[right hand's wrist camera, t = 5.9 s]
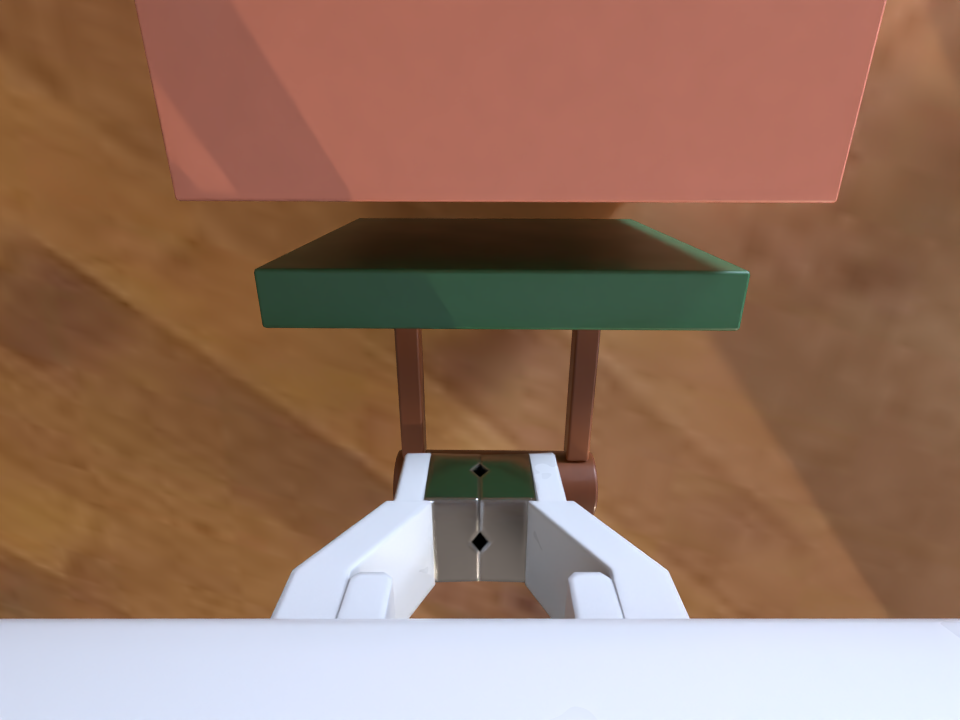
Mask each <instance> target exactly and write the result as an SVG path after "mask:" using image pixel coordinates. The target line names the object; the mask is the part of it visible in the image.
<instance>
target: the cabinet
mask: <svg viewBox="0 0 960 720" xmlns="http://www.w3.org/2000/svg"><path fill="white" fill-rule="evenodd" d="M885 4H886V0H135V5H136V10H137V15H138V20H139V24H140V29H141V34H142V39H143V43H144V48H145V53H146V58H147V63H148V67H149V72H150V77H151V82H152V87H153V91H154V96H155V101H156V106H157V111H158V115H159V120H160V125H161V130H162V135H163V139H164V144H165V149H166V154H167V159H168V163H169V168H170V173H171V178H172V182H173V187H174V192H175V197H176V199H177V200H179V201H400V202H722V203H833V202H836V200H837V197H838V193H839V189H840V185H841V181H842V177H843V173H844V169H845V165H846V161H847V157H848V153H849V149H850V145H851V141H852V137H853V133H854V129H855V125H856V121H857V117H858V113H859V109H860V105H861V101H862V97H863V93H864V89H865V85H866V81H867V77H868V73H869V69H870V65H871V60H872V56H873V52H874V48H875V44H876V40H877V36H878V32H879V28H880V24H881V20H882V16H883V12H884V8H885Z"/></svg>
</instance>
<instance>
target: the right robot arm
mask: <svg viewBox="0 0 960 720" xmlns="http://www.w3.org/2000/svg"><path fill="white" fill-rule="evenodd" d="M461 581H498V582H525V585H526V586H527V588H528V589H529V590H530V591H531V593H532V594H533V595H534V597H535V598H536V599H537V600H538V602H539V603H540V604H541V606H542V607H543V608H544V609H545V611H546V612H547V613H548V615H549V616H550V617H551V618H552V619H409V618H410V616H411V615H412V614H413V612H414V611H415V610H416V609H417V607H418V606H419V605H420V603H421V602H422V601H423V600H424V598H425V597H426V596H427V594H428V593H429V592H430V591H431V589H432V588H433V587H434V585H435V582H461ZM0 720H960V619H690V618H689V616H688V614H687V612H686V609H685V607H684V605H683V603H682V601H681V598H680V596H679V594H678V592H677V589H676V587H675V585H674V583H673V581H672V578H671V576H670V574H669V572H668V570H666V569H665V568H664V567H662V566H661V565H660V564H658V563H657V562H656V561H654V560H653V559H651V558H650V557H649V556H647V555H646V554H645V553H643V552H642V551H641V550H639V549H638V548H637V547H635V546H634V545H633V544H631V543H630V542H628V541H627V540H626V539H624V538H623V537H622V536H620V535H619V534H618V533H616V532H615V531H614V530H612V529H611V528H610V527H608V526H607V525H605V524H604V523H603V522H601V521H600V520H599V519H597V518H596V517H595V516H593V515H592V514H591V513H589V512H588V511H587V510H585V509H584V508H583V507H581V506H580V505H578V504H577V503H576V502H574V501H566V497H565V493H564V489H563V485H562V481H561V477H560V473H559V469H558V465H557V462H556V458H555V455H554V454H553V453H531V454H494V455H480V454H446V453H432V454H431V453H407V454H406V455H405V457H404V461H403V465H402V469H401V473H400V477H399V481H398V485H397V489H396V493H395V497H394V501H386V502H384V503H383V504H382V505H380V506H379V507H377V508H376V509H375V510H373V511H372V512H371V513H369V514H368V515H367V516H365V517H364V518H363V519H361V520H360V521H358V522H357V523H356V524H354V525H353V526H352V527H350V528H349V529H348V530H346V531H345V532H344V533H342V534H341V535H339V536H338V537H337V538H335V539H334V540H333V541H331V542H330V543H329V544H327V545H326V546H324V547H323V548H322V549H320V550H319V551H318V552H316V553H315V554H314V555H312V556H311V557H310V558H308V559H307V560H305V561H304V562H303V563H301V564H300V565H299V566H297V567H296V568H295V569H293V570H292V572H291V575H290V577H289V579H288V581H287V583H286V585H285V588H284V590H283V592H282V594H281V596H280V599H279V601H278V603H277V605H276V607H275V609H274V612H273V614H272V616H271V618H270V619H0Z"/></svg>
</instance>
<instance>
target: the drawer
mask: <svg viewBox="0 0 960 720" xmlns="http://www.w3.org/2000/svg"><path fill="white" fill-rule="evenodd" d="M254 274H255V281H256V287H257V293H258V299H259V305H260V311H261V317H262V324H263V326H264V327H266V328H381V329H394V331H395V347H396V362H397V378H398V394H399V410H400V426H401V442H402V450H400V451H399V453H398V455H397V458H396V462H395V469H394V480H393V499H394V497H395V493H396V489H397V485H398V481H399V477H400V473H401V469H402V465H403V461H404V457H405V455H406V454H407V453H431V454H432V453H446V454H480V455H494V454H531V453H553V454H554V455H555V458H556V462H557V465H558V469H559V473H560V477H561V481H562V485H563V489H564V493H565V497H566V501H574V502H576V503H577V504H578V505H580V506H581V507H583V508H584V509H585V510H587V511H588V512H589V513H591V514H592V515H594V514H595V511H596V506H597V498H598V481H597V471H596V465H595V461H594V458H593V455H592V453H591V452H589V448H590V437H591V427H592V416H593V405H594V395H595V384H596V373H597V363H598V352H599V341H600V331H601V330H710V331H735V330H738V329H739V328H740V323H741V318H742V313H743V308H744V303H745V298H746V293H747V288H748V283H749V278H750V272H749V271H747V270H745V269H742V268H740V267H738V266H736V265H733V264H731V263H729V262H727V261H724V260H722V259H720V258H717V257H715V256H713V255H711V254H708V253H706V252H704V251H702V250H699V249H697V248H695V247H693V246H690V245H688V244H686V243H684V242H681V241H679V240H677V239H674V238H672V237H670V236H668V235H665V234H663V233H661V232H659V231H656V230H654V229H652V228H650V227H647V226H645V225H643V224H641V223H638V222H636V221H634V220H631V219H409V218H359V219H357V220H355V221H353V222H351V223H349V224H347V225H345V226H343V227H341V228H339V229H336V230H334V231H332V232H330V233H328V234H326V235H324V236H322V237H320V238H318V239H316V240H314V241H312V242H310V243H308V244H306V245H304V246H302V247H300V248H297V249H295V250H293V251H291V252H289V253H287V254H285V255H283V256H281V257H279V258H277V259H275V260H273V261H271V262H269V263H267V264H265V265H263V266H261V267H259V268H256V269H255V271H254ZM422 329H546V330H572V343H571V357H570V370H569V384H568V398H567V412H566V426H565V440H564V451H513V450H426V448H427V447H426V423H425V400H424V376H423V353H422Z"/></svg>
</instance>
